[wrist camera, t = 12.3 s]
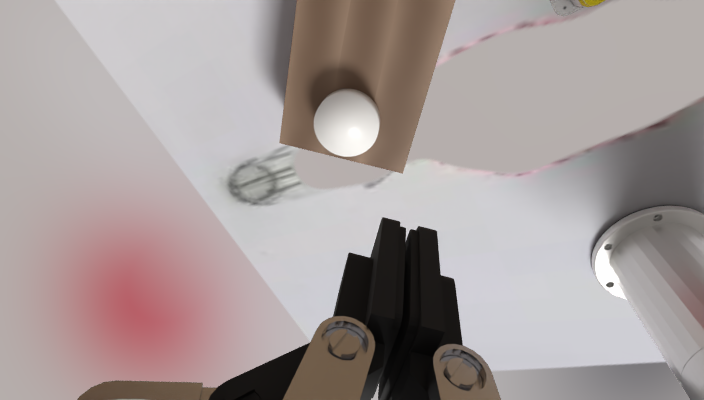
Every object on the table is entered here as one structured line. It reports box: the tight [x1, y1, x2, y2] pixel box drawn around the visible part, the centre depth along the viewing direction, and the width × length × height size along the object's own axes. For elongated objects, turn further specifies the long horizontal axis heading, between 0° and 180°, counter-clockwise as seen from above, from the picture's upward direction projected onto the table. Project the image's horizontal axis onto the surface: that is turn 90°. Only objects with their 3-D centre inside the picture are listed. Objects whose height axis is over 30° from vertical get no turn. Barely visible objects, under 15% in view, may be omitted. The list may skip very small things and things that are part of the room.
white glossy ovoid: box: [314, 89, 380, 157], centre depth 38 cm, size 6×6×8 cm
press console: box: [280, 0, 455, 173], centre depth 35 cm, size 12×24×6 cm, turn 168°
